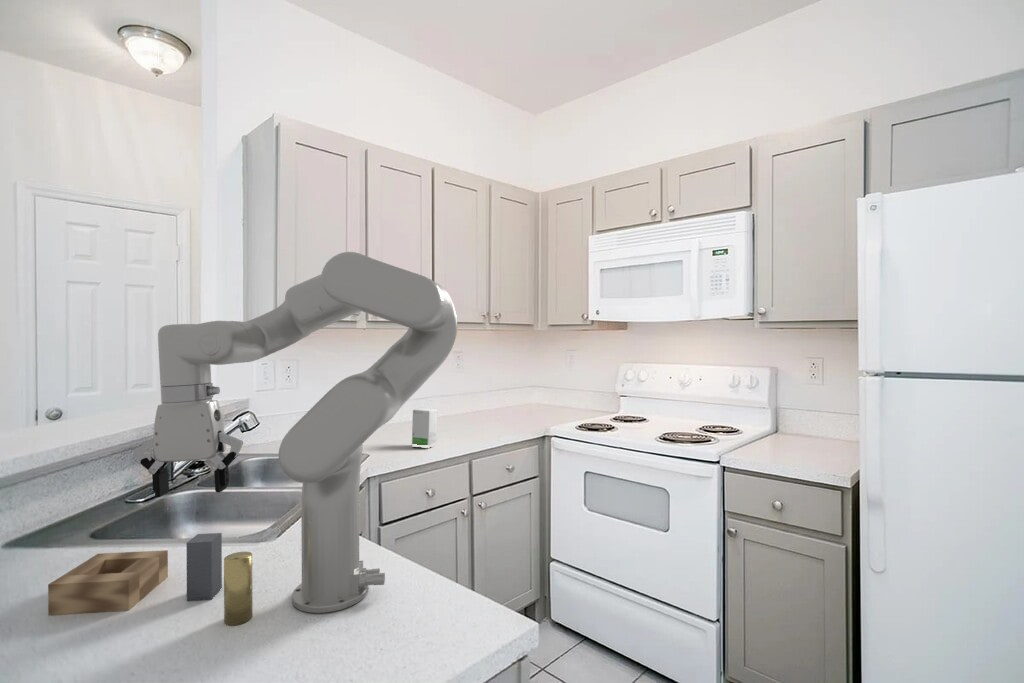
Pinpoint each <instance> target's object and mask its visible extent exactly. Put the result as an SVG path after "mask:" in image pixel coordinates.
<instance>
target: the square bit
mask: <svg viewBox="0 0 1024 683" xmlns="http://www.w3.org/2000/svg"><path fill="white" fill-rule="evenodd" d="M222 533H223V532H215V533H213V532H212V533H197V534H196V535H194V537H192V538H191V539H189V540H188V541H187V542H186V602H195V601H212V600H213V599H214V598H215V597H216V596H217V595H218V593H219V592H220V591H221V590H222V589H223V581H222V580H223V575H222V574H223V571H222V570H223V568H222V567H223V566H222V565H223V563H222V562H223V560H222V559H223V558H222V557H223V555H222V554H223V550H222V549H223V548H222V547H223V545H222V543H223V542H222V539H223V538H222V537H223V536H222V535H223V534H222ZM221 588H222V589H221ZM220 589H221V590H220ZM215 595H216V596H215ZM213 597H214V598H213Z"/></svg>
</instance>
